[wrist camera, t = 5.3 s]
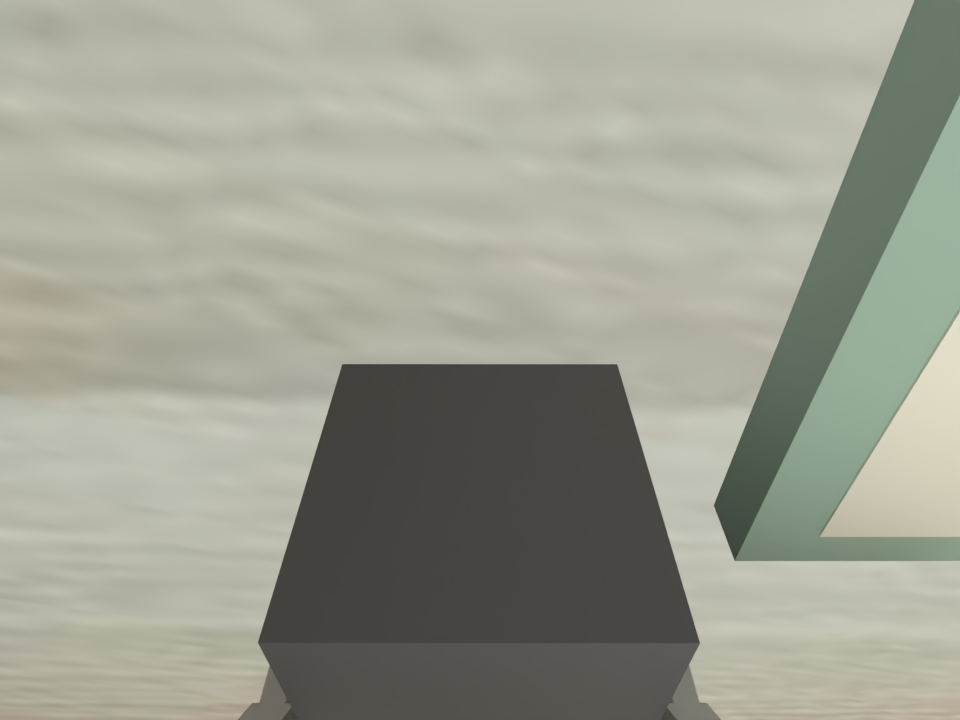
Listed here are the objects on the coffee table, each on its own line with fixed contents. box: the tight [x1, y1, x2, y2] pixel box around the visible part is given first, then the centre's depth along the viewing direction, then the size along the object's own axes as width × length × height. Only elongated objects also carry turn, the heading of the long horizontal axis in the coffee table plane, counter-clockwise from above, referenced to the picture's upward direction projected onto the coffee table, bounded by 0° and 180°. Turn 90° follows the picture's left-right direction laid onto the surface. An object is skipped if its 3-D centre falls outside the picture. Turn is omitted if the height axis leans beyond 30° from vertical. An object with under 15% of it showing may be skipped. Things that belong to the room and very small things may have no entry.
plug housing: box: [258, 364, 700, 720], centre depth 12 cm, size 5×11×5 cm, turn 0°
